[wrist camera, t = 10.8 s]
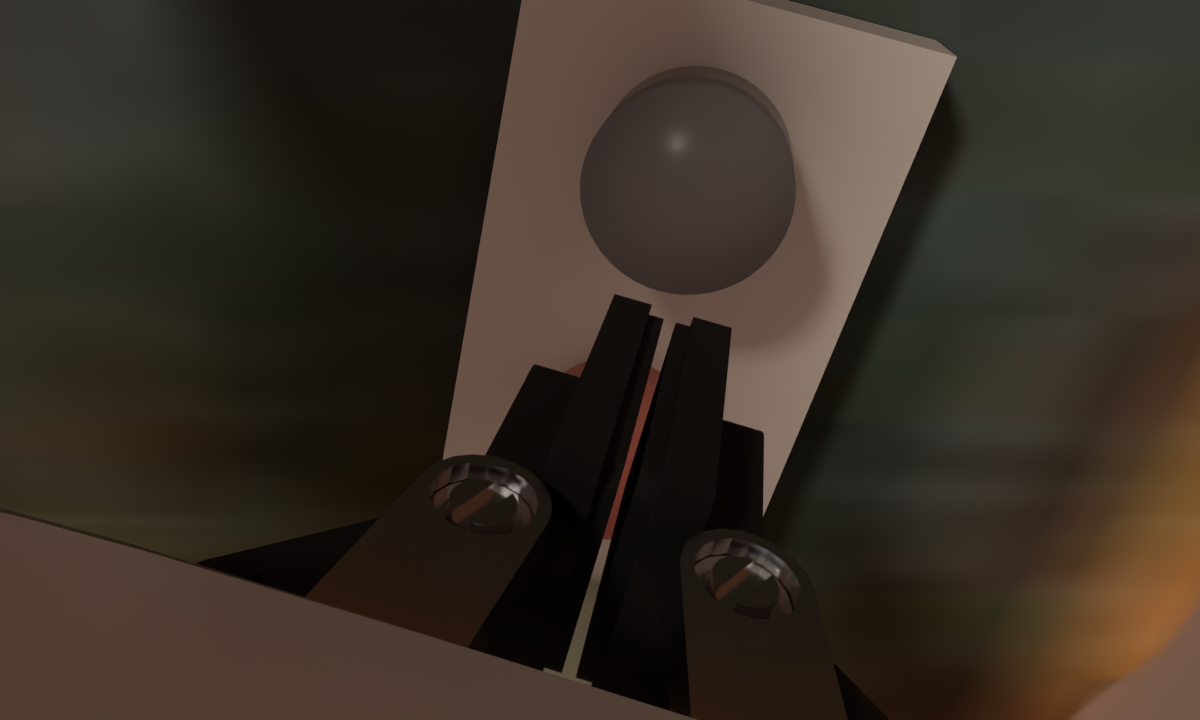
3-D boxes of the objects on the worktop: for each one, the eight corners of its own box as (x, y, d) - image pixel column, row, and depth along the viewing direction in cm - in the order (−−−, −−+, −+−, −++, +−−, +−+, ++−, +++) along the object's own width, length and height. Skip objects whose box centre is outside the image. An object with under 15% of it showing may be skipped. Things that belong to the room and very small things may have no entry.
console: (556, -63, 24) (531, -59, 22) (936, 40, 24) (957, 56, 21) (436, 591, 37) (411, 643, 34) (682, 665, 37) (675, 724, 34)
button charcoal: (622, 42, 21) (606, 58, 19) (821, 96, 21) (828, 118, 19) (579, 229, 23) (560, 262, 21) (757, 280, 23) (756, 318, 21)
